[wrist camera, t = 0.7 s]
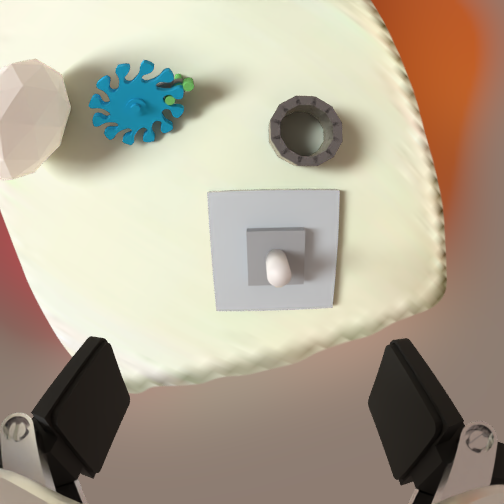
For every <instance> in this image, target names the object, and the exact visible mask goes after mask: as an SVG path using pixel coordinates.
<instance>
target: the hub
mask: <svg viewBox="0 0 504 504" xmlns="http://www.w3.org/2000/svg"><path fill="white" fill-rule="evenodd" d="M293 112H307V113H308V114H310V115H312V116H313V117H315V118H317V119H318V121H319V123H320V124H321V126H322V128H323V133H324V141H323V143H322V145H321V147H320V148H319V150H318V151H317V152H316V153H314V154H312V155H310V156H300V155H298V154H296V153H295V152H293V151H291V150H289V149H288V148H287V146H286V145H285V143H284V141H283V140H282V138H281V134H280V122H281V120H282V119H283V117H285V116H287V115H289V114H291V113H293ZM269 143H270V145H271V146H272V148H273V149H274V151H275V153H276V154H277V156H278V157H279V158H281V159H283V160H285V161H287V162H288V163H290V164H292V165H297V166H318V165H320V164H322V163H324V162H325V161H327V160H329V159H331V158H333V157H334V155H335V154H336V152H337V150H338V148H339V146H340V145H341V143H342V122H341V121H340V119H339V117H338V116H337V114H336V112H335V111H334V109H333V107H332V106H330V105H329V104H327V103H325V102H324V101H322V100H320V99H319V98H317V97H313V96H295V97H293V98H291V99H289V100H287V101H285V102H283V103H281V104H279V106H278V108H277V110H276V111H275V113H274V115H273V117H272V118H271V120H270V123H269Z"/></svg>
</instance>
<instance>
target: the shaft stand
mask: <svg viewBox="0 0 504 504" xmlns="http://www.w3.org/2000/svg"><path fill="white" fill-rule="evenodd" d="M207 195H208V212H209V227H210V241H211V254H212V266H213V278H214V289H215V299H216V310H217V311H265V310H295V309H316V308H332V306H333V297H334V286H335V275H336V262H337V247H338V229H339V201H340V190H337V189H261V190H230V191H209V192H207Z"/></svg>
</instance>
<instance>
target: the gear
mask: <svg viewBox="0 0 504 504" xmlns="http://www.w3.org/2000/svg"><path fill="white" fill-rule="evenodd" d="M153 69H154V64H153V63H152V62H150V61H147V60H144V61H142V63H141V66H140V71H139V73H138V75H137V76H136V77H135V78H134V79H133V80H131V81H127V80H126V79H125V76H126V75H127V74H128V72H129V70H130V64H127V63H126V64H119V65H118V66H117V68H116V74H117V76H118V78H119V87H118V88H117V89H112V88H111V87H110V81H111V80H110V77H109V76H108V75H106V76H104V77H102V78H101V79H100V80H99V81H98V82H97V84H96V86H97V88H98V89H100V90H102V91H104V92H105V93H106V94H107V95H108V97H109V99H110V101H109V102H104V101H103V100H102V98H101V96H100V95H98V94H94V95H93V96H92V98H91V101H90V103H89V107H90V108H101V109H104V110H106V111H108V112H109V113H110V115H108V116H106V115H103V114H102V113H99V112H97V113H95V114H94V116H93V125H94V126H95V127H97V126H100V125H102V124H104V123H108V122H113V123H117V124H118V126H108V127H107V128H106V129H105V132H104V134H105V136H106V137H107V138H108V139H109V140H111V139H113V138H114V137H115V135H116V134H117V133H118V132H120V131H121V130H124V129H127V128H129V129H131V130H132V131H130V132H127V133H125V134H124V136H123V142H124V143H125V144H129V145H132V144H133V143H134V136H135V134H136V132H137V131H138V130H139V129H141V128H146V129H147V130H146V131H145V132H144V134H143V141H144V142H152V141H154V139H155V133H154V131H153V130H152V124H153V123H154V122H155V121H160V122H161V131H162V132H163V133H167V132H169V131H171V130H172V129H173V123H172V122H171V121H170V120H168V119H166V118H165V117H164V115H163V113H162V111H163V110H164V109H169V110H170V111H171V113H172V115H173V117H175V118H179V117H180V116H181V115H182V113H183V111H184V106H183V105H181V104H174V102H175V99H182V98H183V94H184V92H185V91H191V90H193V88H194V84H193V79H192V78H189V77H187V78H185V79H182V77H181V74H176V75H175V79H174V75H173V72H172V71H171V70H170V69H169V68H166V69H164V70H163V71H162V72H161V74H160V75H158V76H157V77H155V78H153V79H150V80H143V79H142V76H143V75H145V74H148V73H151V72H152V71H153ZM159 82H163V83H159ZM157 83H159V84H157ZM163 97H165V99H164V98H163Z"/></svg>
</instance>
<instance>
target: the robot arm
mask: <svg viewBox="0 0 504 504" xmlns="http://www.w3.org/2000/svg"><path fill="white" fill-rule="evenodd" d="M129 403H130V396H129V393H128V391H127V388H126V386H125V383H124V381H123V378H122V375H121V373H120V370H119V367H118V364H117V361H116V359H115V356H114V353H113V350H112V347H111V345H110V343H108V342H107V340H106V339H104V338H99V337H92V336H91V337H89V338H88V339H87V340H86V341H85V342H84V344H83V345H82V346H81V347H80V349H79V350H78V351H77V352H76V353H75V355H74V356H73V357H72V359H71V360H70V361H69V362H68V364H67V365H66V366H65V367H64V369H63V370H62V372H61V373H60V374H59V375H58V376H57V378H56V379H55V380H54V382H53V383H52V384H51V386H50V387H49V388H48V390H47V391H46V393H45V394H44V395H43V397H42V398H41V399H40V401H39V402H38V404H37V405H36V406H35V408H34V409H33V411H32V412H31V413H32V414H33V416H34V417H33V418H32V419H31V418H30V417H29V416H28V415H26V414H23V413H14V414H11V415H9V416H8V417H7V418H6V419H5V420H4V421H3V422H2V425H1V428H0V504H88V502H87V500H86V498H85V496H84V493H83V490H82V488H81V485H80V482H79V480H78V477H79V474H80V473H81V474H83V475H85V476H88V477H91V478H94V476H95V474H96V473H98V472H100V470H101V468H102V466H103V463H104V461H105V458H106V456H107V453H108V451H109V449H110V447H111V444H112V442H113V440H114V437H115V435H116V433H117V430H118V428H119V426H120V423H121V421H122V419H123V417H124V415H125V413H126V410H127V408H128V406H129ZM368 405H369V409H370V412H371V414H372V417H373V419H374V422H375V425H376V428H377V430H378V433H379V436H380V439H381V441H382V444H383V447H384V450H385V453H386V456H387V458H388V461H389V464H390V467H391V470H392V473H393V476H394V478H395V479H396V480H398V479H399V482H400V485H404V484H407V483H410V482H414V484H415V487H416V488H415V491H414V493H413V495H412V497H411V499H410V501H409V503H408V504H504V444H503V443H500V442H498V440H497V434H496V432H495V430H494V429H493V427H492V426H490V425H489V424H487V423H485V422H483V421H474V422H471V423H469V424H467V425H466V426H465V425H464V423H463V421H464V420H463V418H462V417H461V415H460V414H459V412H458V410H457V409H456V407H455V406H454V404H453V402H452V401H451V399H450V398H449V396H448V395H447V394H446V392H445V390H444V389H443V387H442V386H441V384H440V383H439V381H438V380H437V378H436V377H435V375H434V374H433V373H432V371H431V369H430V368H429V366H428V365H427V364H426V362H425V361H424V359H423V358H422V356H421V355H420V354H419V352H418V351H417V349H416V348H415V347H414V345H413V344H412V343H411V341H410V340H409V339H407V338H405V339H398V340H393V341H392V342H390V345H387V346H386V348H385V352H384V355H383V358H382V361H381V364H380V368H379V371H378V374H377V377H376V380H375V382H374V385H373V388H372V391H371V394H370V396H369V400H368Z"/></svg>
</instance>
